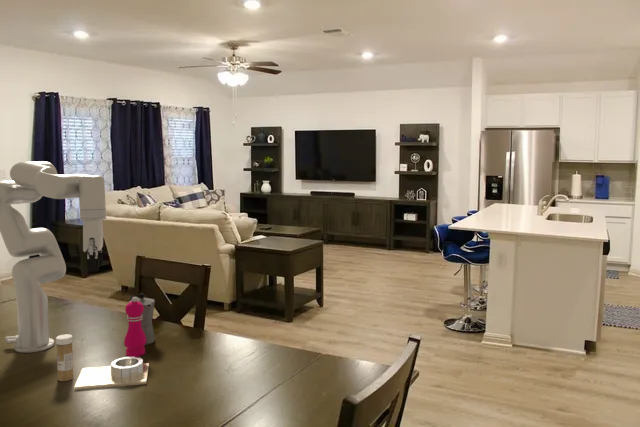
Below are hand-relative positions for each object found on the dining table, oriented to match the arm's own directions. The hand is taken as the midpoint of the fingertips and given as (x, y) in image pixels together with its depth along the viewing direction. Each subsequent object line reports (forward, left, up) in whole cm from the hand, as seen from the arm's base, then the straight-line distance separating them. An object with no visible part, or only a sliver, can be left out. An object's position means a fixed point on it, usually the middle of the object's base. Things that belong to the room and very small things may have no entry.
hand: (95, 268), depth 173 cm
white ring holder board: (+6, -10, -32) cm, 34 cm away
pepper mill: (+11, +9, -33) cm, 35 cm away
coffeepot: (+12, +22, -33) cm, 41 cm away
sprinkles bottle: (-8, -8, -33) cm, 35 cm away
